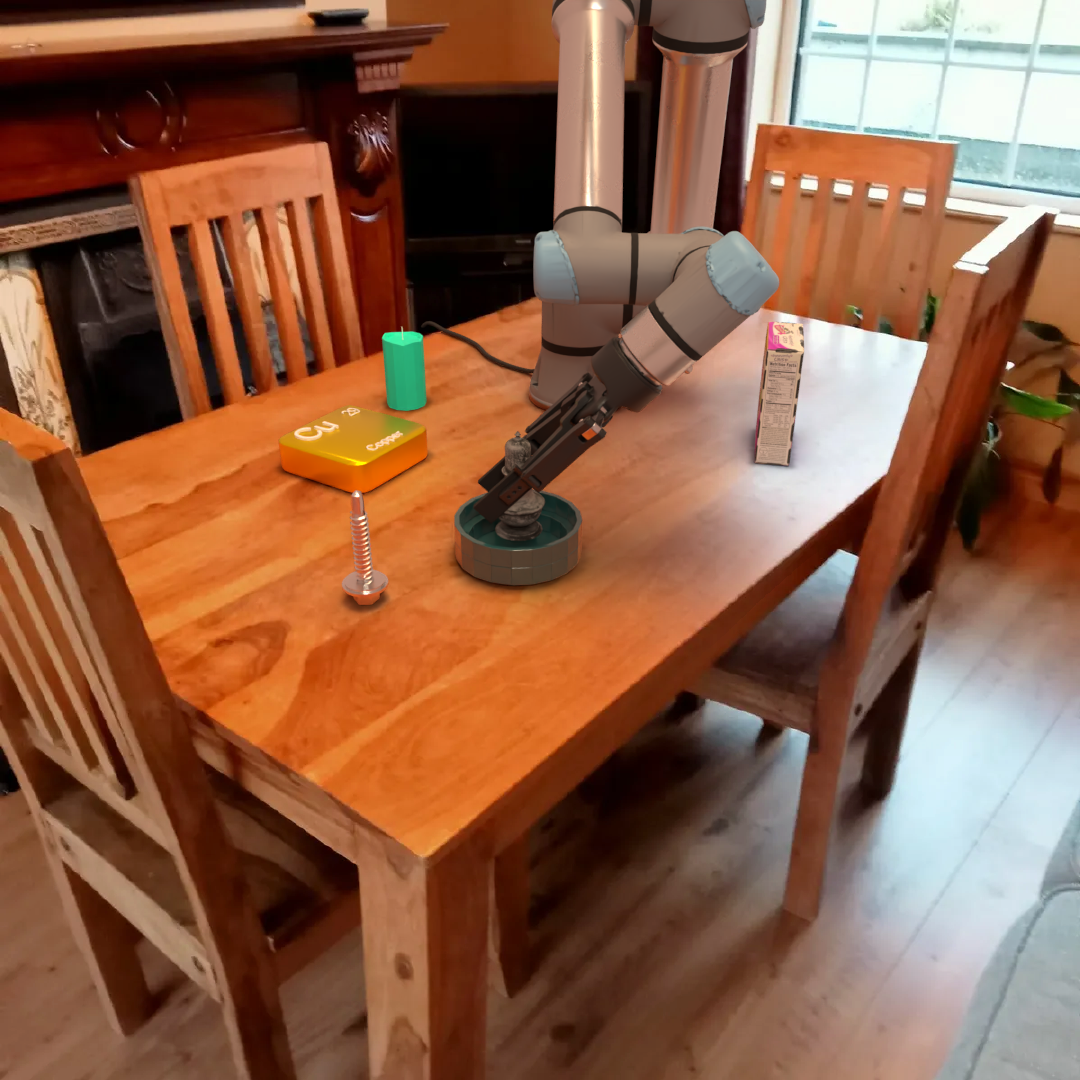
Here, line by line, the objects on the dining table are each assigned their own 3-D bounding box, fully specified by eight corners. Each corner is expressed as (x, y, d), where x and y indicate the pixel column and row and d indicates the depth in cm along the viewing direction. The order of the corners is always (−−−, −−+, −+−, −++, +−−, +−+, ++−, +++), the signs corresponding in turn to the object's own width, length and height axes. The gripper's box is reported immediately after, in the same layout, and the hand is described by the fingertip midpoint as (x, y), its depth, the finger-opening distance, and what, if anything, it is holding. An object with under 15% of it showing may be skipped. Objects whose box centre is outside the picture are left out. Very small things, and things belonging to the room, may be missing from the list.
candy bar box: (753, 431, 146) (767, 320, 137) (789, 434, 145) (804, 322, 137) (751, 464, 136) (766, 347, 128) (789, 467, 135) (806, 350, 127)
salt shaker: (506, 547, 110) (505, 446, 104) (483, 524, 114) (480, 426, 108) (554, 534, 112) (555, 435, 106) (530, 512, 117) (529, 416, 111)
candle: (379, 407, 153) (373, 330, 147) (399, 393, 158) (393, 318, 152) (415, 413, 151) (410, 335, 145) (433, 398, 156) (429, 323, 150)
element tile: (361, 497, 127) (358, 463, 125) (275, 469, 134) (270, 436, 132) (434, 454, 138) (432, 422, 136) (350, 430, 145) (347, 399, 143)
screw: (377, 581, 110) (397, 602, 107) (336, 594, 108) (354, 616, 105) (368, 475, 104) (388, 493, 100) (324, 486, 102) (343, 505, 98)
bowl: (430, 566, 113) (428, 527, 111) (501, 514, 124) (500, 478, 121) (538, 603, 107) (538, 563, 104) (602, 546, 117) (604, 508, 115)
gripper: (673, 421, 97) (503, 565, 105) (659, 356, 112) (513, 485, 121) (619, 368, 94) (451, 519, 103) (613, 308, 110) (467, 444, 118)
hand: (485, 501), depth 112 cm, fingers closed on salt shaker, 5 cm apart
